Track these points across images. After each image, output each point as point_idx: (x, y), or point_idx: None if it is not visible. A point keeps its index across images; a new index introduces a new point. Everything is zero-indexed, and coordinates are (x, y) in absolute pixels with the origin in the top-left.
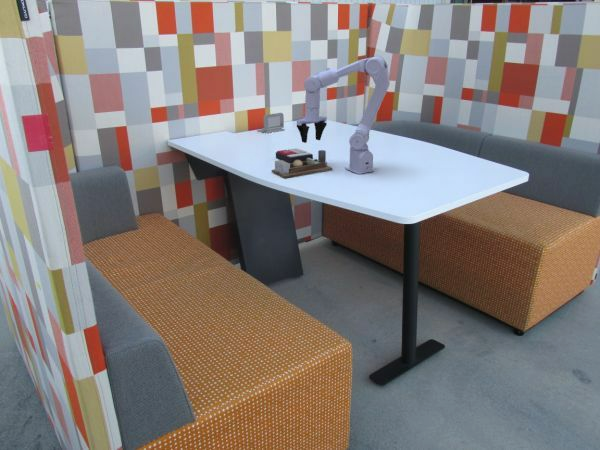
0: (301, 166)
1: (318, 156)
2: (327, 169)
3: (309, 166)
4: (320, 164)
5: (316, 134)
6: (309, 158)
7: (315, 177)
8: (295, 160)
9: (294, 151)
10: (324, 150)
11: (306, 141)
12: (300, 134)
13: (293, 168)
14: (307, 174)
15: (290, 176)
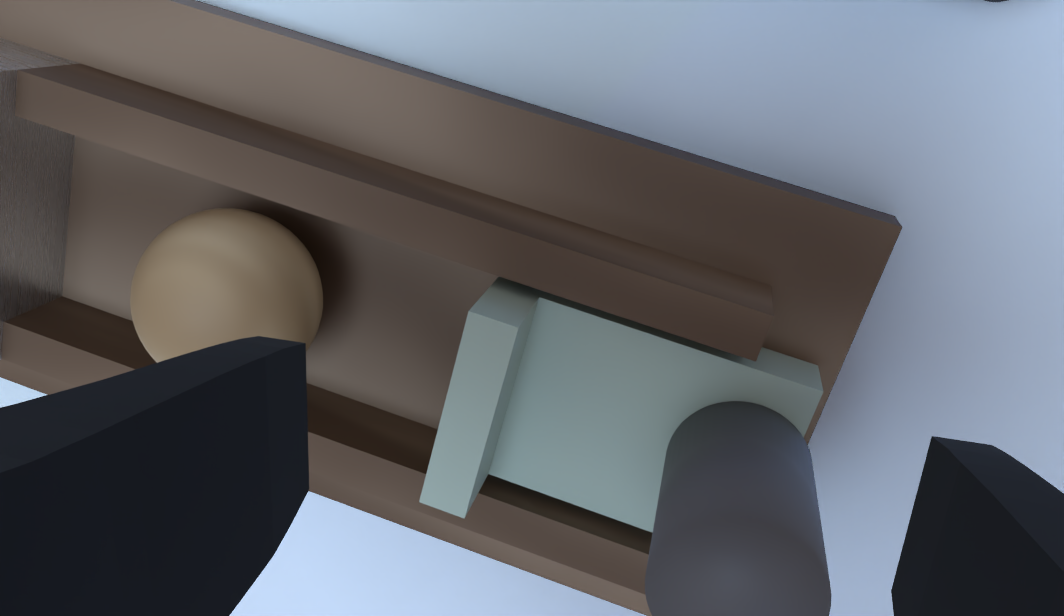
0: None
1: (669, 480)
2: (630, 599)
3: (348, 474)
4: (559, 551)
5: (987, 573)
6: (480, 379)
7: (295, 609)
8: (150, 297)
9: None
10: (829, 607)
11: (279, 520)
12: (24, 419)
13: (62, 378)
14: None
15: (34, 378)
